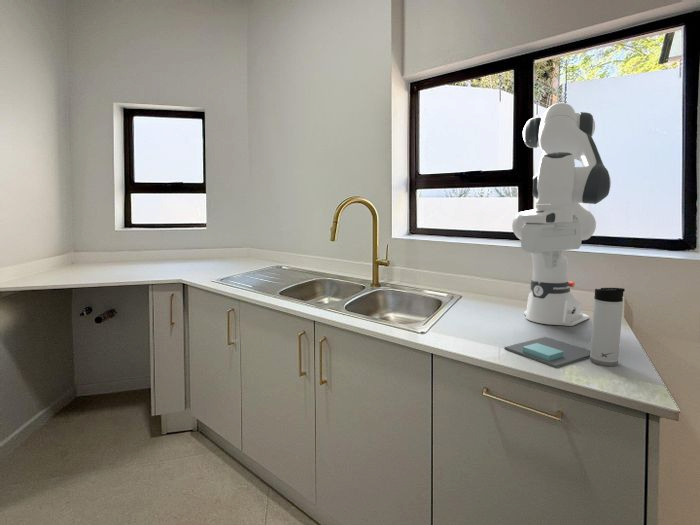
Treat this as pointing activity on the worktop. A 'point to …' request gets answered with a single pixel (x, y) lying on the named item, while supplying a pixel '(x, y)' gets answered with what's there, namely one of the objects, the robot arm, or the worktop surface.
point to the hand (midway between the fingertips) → (551, 267)
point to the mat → (569, 354)
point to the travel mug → (606, 326)
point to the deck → (543, 351)
